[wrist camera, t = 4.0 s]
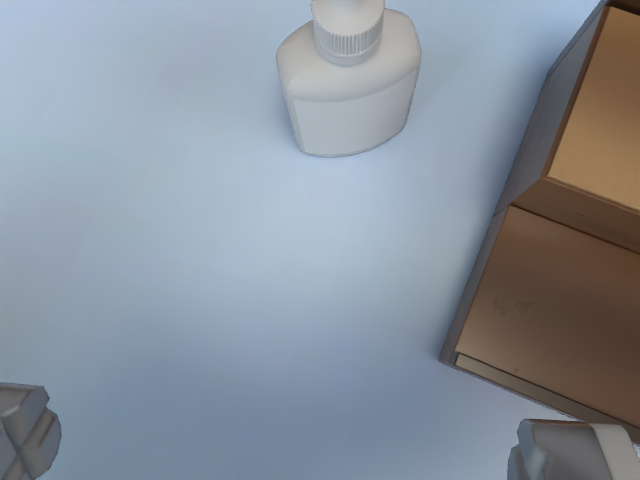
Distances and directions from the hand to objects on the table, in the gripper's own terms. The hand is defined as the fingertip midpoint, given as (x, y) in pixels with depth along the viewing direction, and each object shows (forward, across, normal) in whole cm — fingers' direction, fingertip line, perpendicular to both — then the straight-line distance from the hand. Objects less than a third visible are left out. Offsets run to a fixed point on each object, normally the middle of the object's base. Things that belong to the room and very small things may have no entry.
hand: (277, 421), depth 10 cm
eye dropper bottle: (+21, 0, +4) cm, 21 cm away
